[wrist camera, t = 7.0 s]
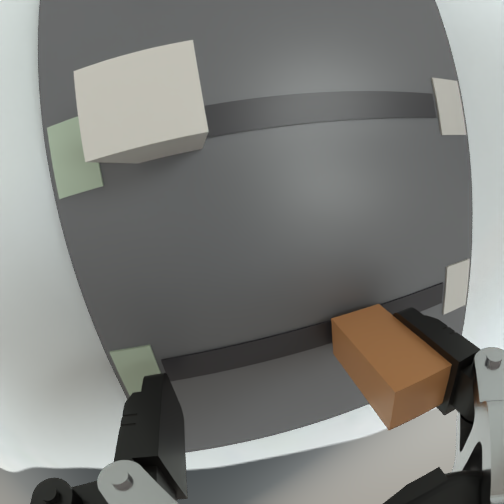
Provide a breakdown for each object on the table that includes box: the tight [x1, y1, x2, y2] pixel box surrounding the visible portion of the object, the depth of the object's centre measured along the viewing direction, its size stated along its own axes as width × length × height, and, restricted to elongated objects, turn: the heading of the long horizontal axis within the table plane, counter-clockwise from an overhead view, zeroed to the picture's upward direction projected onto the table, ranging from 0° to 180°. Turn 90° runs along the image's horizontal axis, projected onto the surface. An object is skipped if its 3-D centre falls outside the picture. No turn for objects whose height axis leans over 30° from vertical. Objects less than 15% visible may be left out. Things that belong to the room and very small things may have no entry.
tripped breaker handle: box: [331, 304, 452, 430], centre depth 9 cm, size 2×2×4 cm
